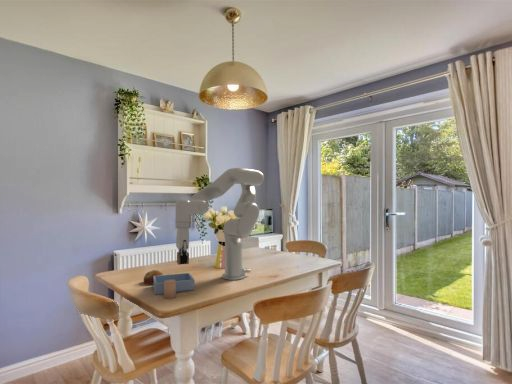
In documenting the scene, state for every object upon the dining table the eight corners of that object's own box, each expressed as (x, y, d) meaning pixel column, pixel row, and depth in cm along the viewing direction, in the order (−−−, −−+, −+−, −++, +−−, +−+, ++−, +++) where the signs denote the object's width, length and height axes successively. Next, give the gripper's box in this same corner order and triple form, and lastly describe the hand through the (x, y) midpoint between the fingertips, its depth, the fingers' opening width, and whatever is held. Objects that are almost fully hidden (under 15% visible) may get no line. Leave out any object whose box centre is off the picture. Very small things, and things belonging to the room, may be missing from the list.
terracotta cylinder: (175, 294, 137) (175, 279, 137) (176, 298, 133) (176, 282, 133) (163, 295, 135) (163, 280, 135) (164, 299, 131) (164, 283, 131)
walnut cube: (176, 262, 149) (176, 252, 149) (187, 261, 151) (187, 251, 151) (178, 264, 144) (178, 254, 145) (188, 263, 146) (188, 253, 146)
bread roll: (159, 285, 162) (155, 271, 164) (169, 280, 156) (166, 265, 158) (142, 290, 154) (138, 275, 156) (152, 285, 148) (148, 269, 150)
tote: (189, 282, 156) (189, 272, 156) (194, 290, 143) (194, 279, 143) (153, 286, 149) (153, 276, 149) (155, 294, 136) (155, 283, 136)
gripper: (173, 223, 154) (172, 259, 154) (177, 227, 139) (177, 267, 138) (188, 223, 157) (187, 258, 157) (194, 226, 141) (193, 265, 141)
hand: (182, 262), depth 148 cm, fingers closed on walnut cube, 5 cm apart
